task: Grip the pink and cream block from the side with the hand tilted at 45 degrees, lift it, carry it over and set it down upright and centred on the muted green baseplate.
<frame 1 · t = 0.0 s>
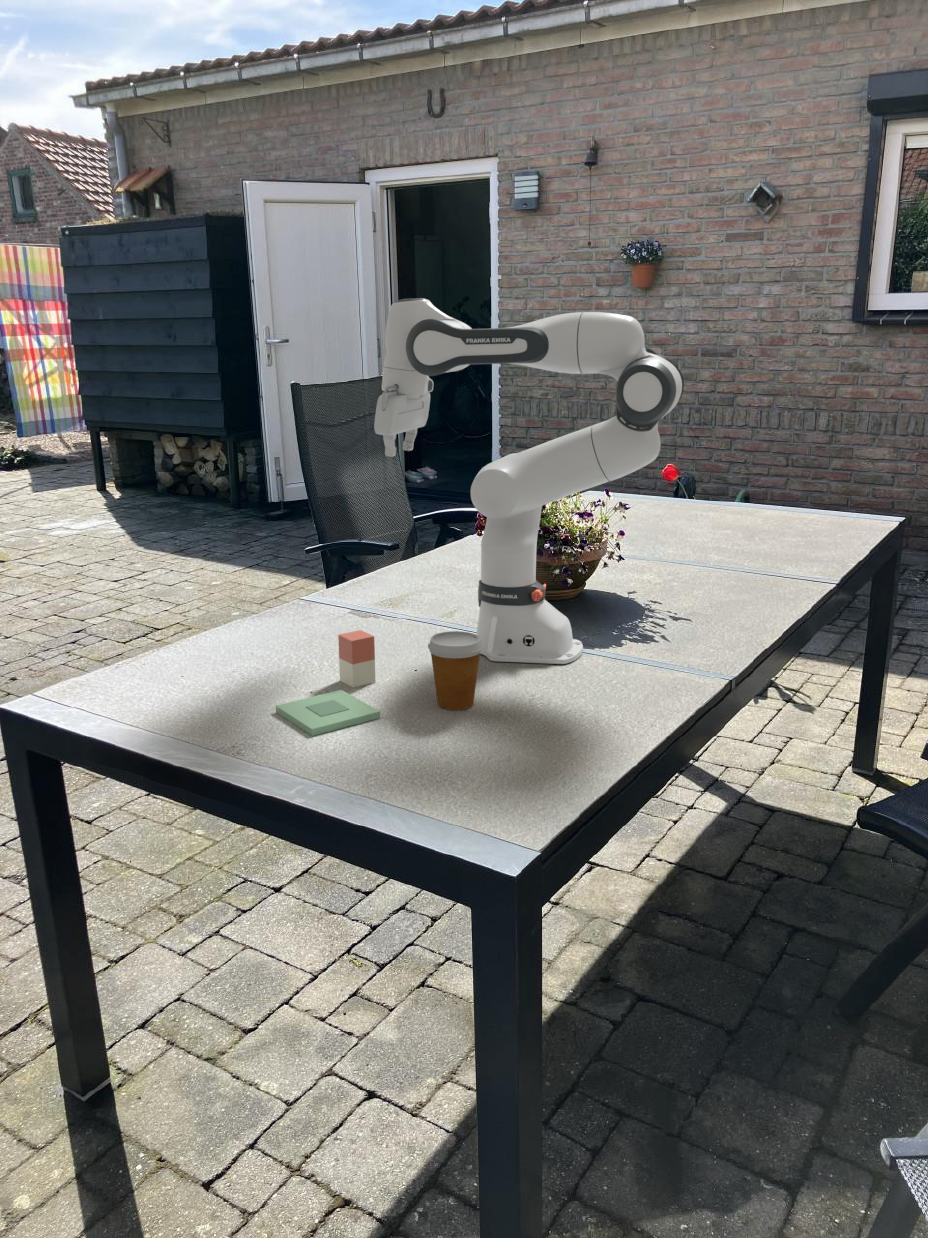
hand: (399, 453, 206), 39 cm above the table, tool pointing down, fingers open, 8 cm apart
pink and cream block: (357, 681, 191), on the table
disposable coffee cup: (455, 704, 180), on the table
baseplate: (327, 715, 175), on the table
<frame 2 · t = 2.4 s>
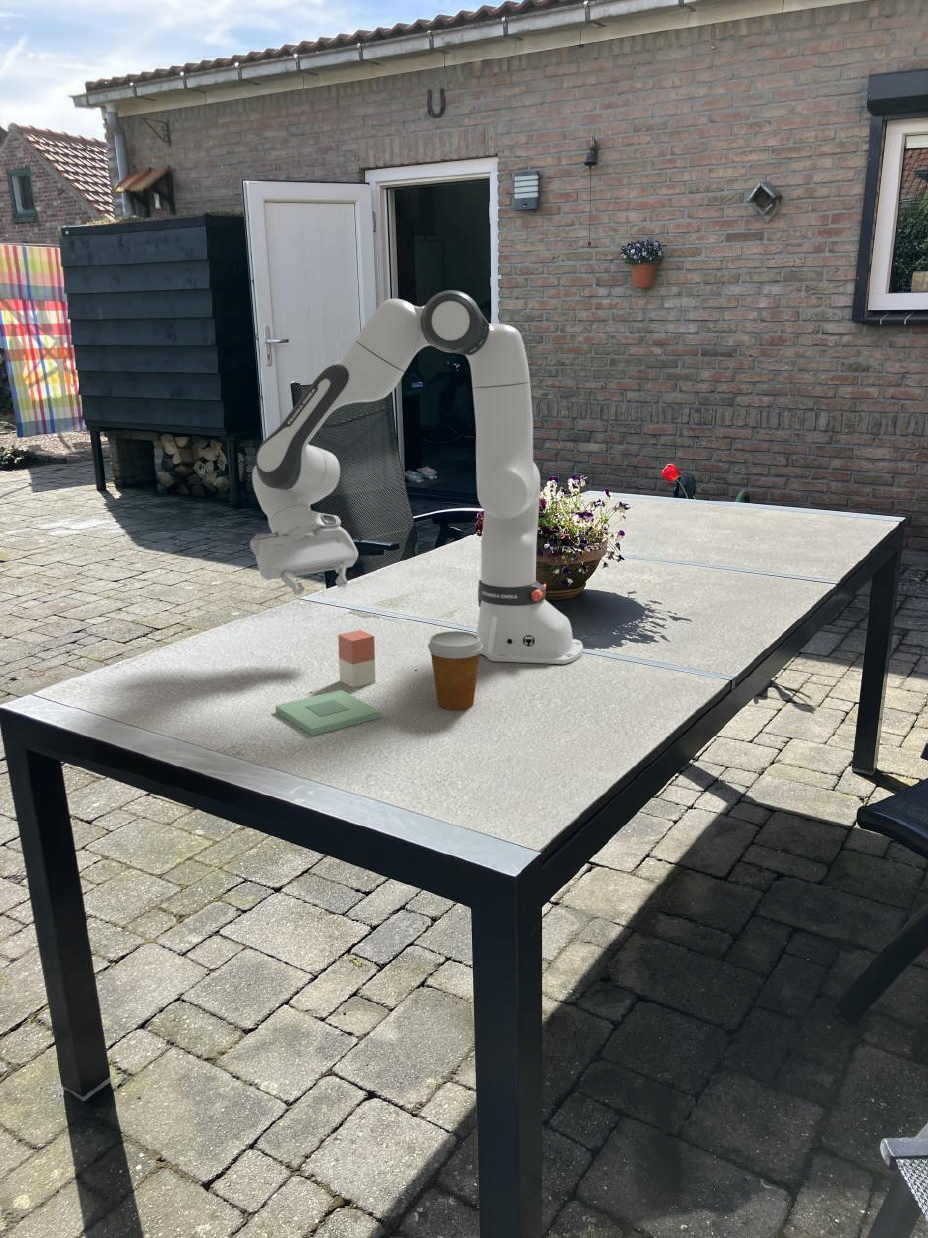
hand: (321, 589, 196), 15 cm above the table, tool tilted 45°, fingers open, 8 cm apart
nothing on the table moved.
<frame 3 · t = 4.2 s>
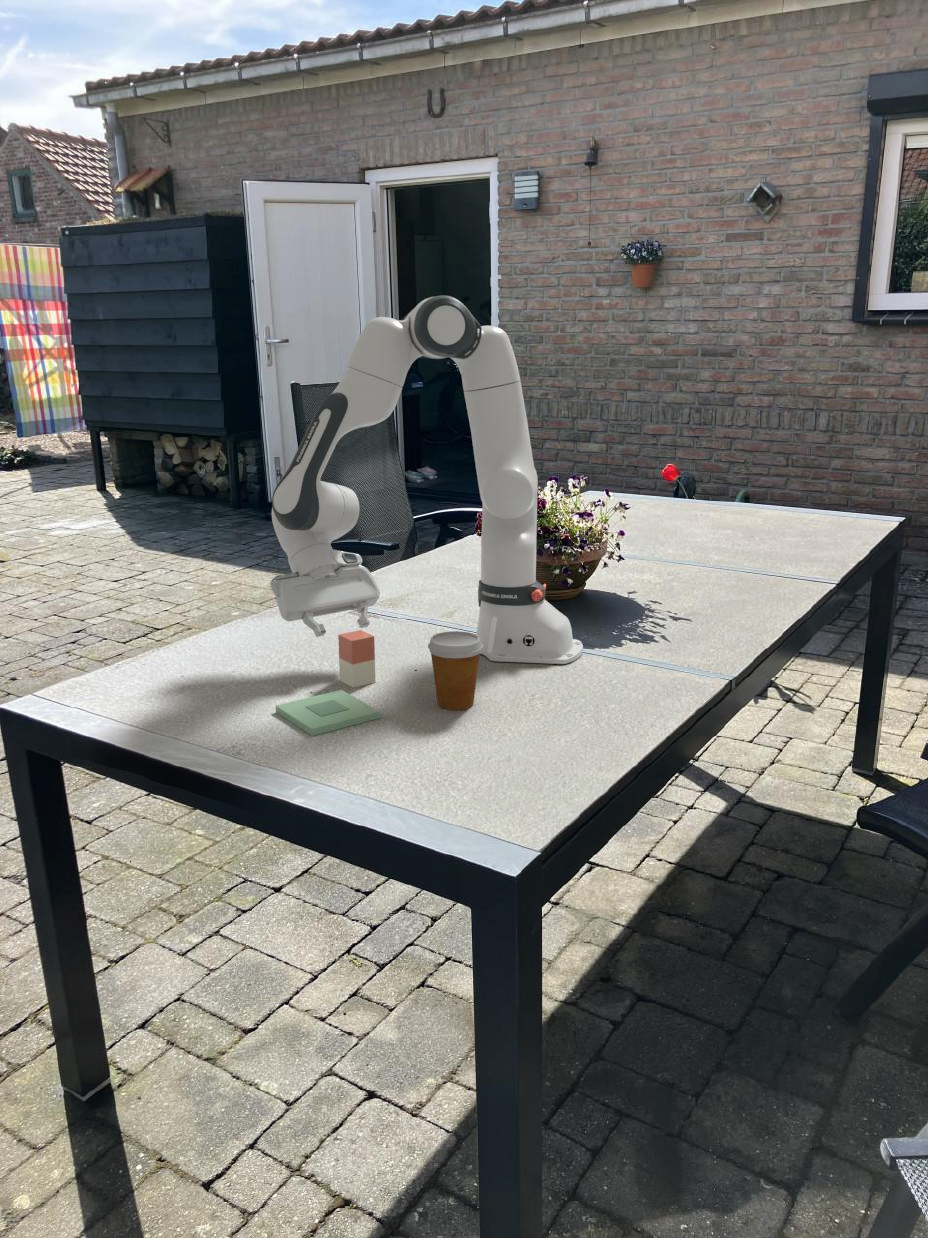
hand: (343, 630, 192), 9 cm above the table, tool tilted 45°, fingers open, 8 cm apart
nothing on the table moved.
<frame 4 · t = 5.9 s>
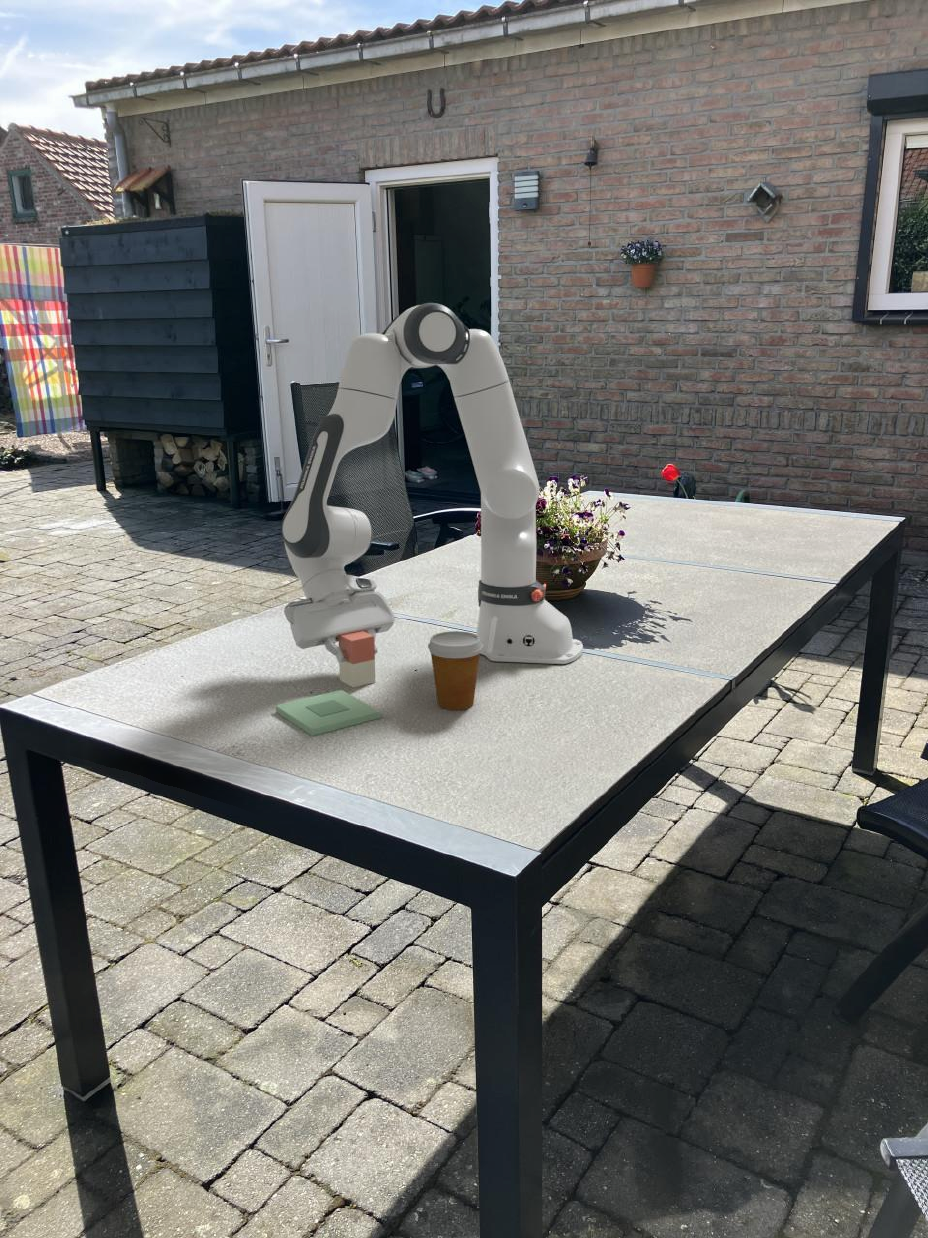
hand: (358, 657, 189), 5 cm above the table, tool tilted 45°, fingers closed on pink and cream block, 5 cm apart
pink and cream block: (357, 681, 191), on the table, touching gripper
everything else where it was.
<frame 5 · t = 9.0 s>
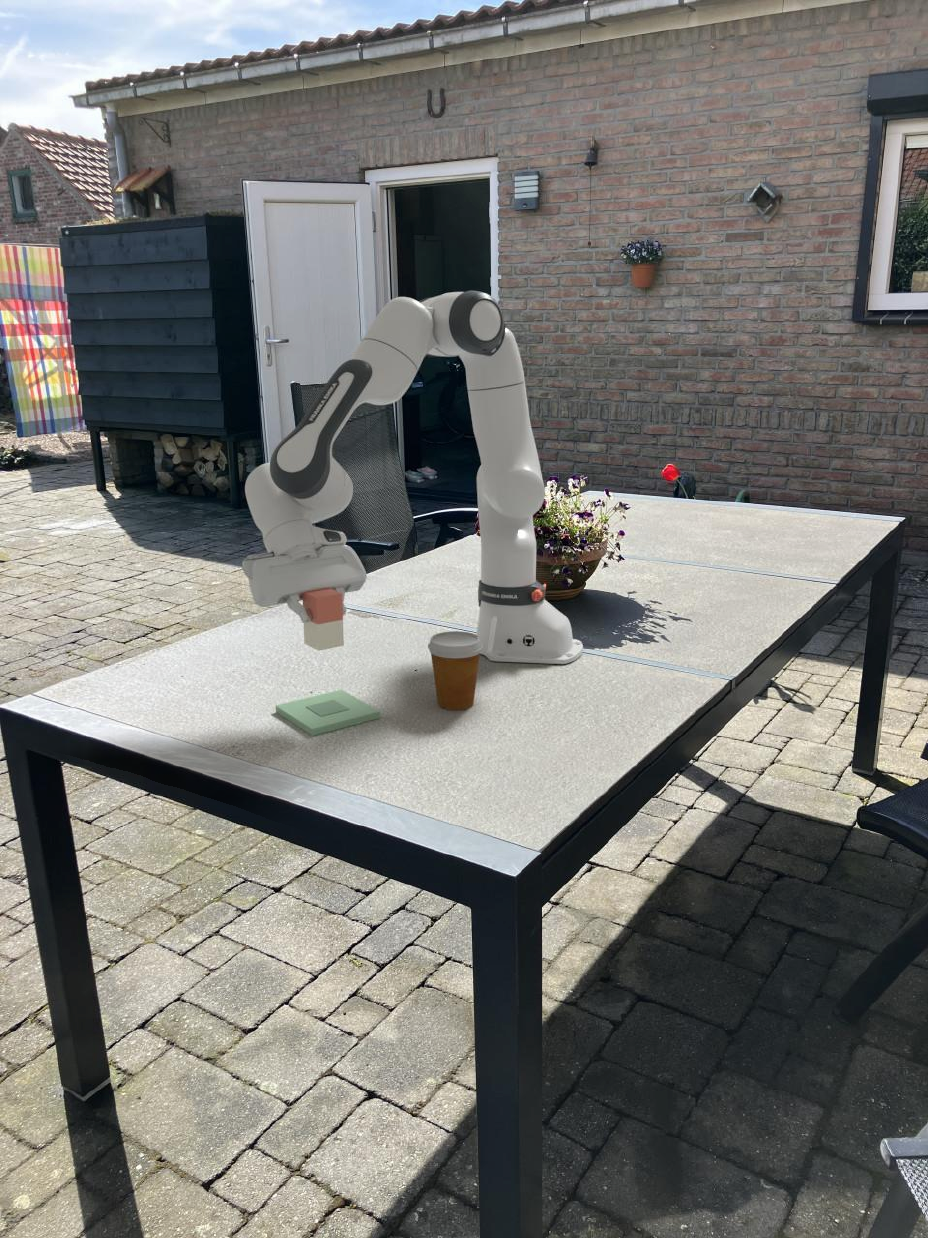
hand: (325, 617, 170), 18 cm above the table, tool tilted 45°, fingers closed on pink and cream block, 5 cm apart
pink and cream block: (324, 644, 172), point 13 cm above the table, touching gripper
everything else where it was.
when the fingers open (7 cm above the table, at t = 12.0 s): pink and cream block stays where it is, resting on baseplate.
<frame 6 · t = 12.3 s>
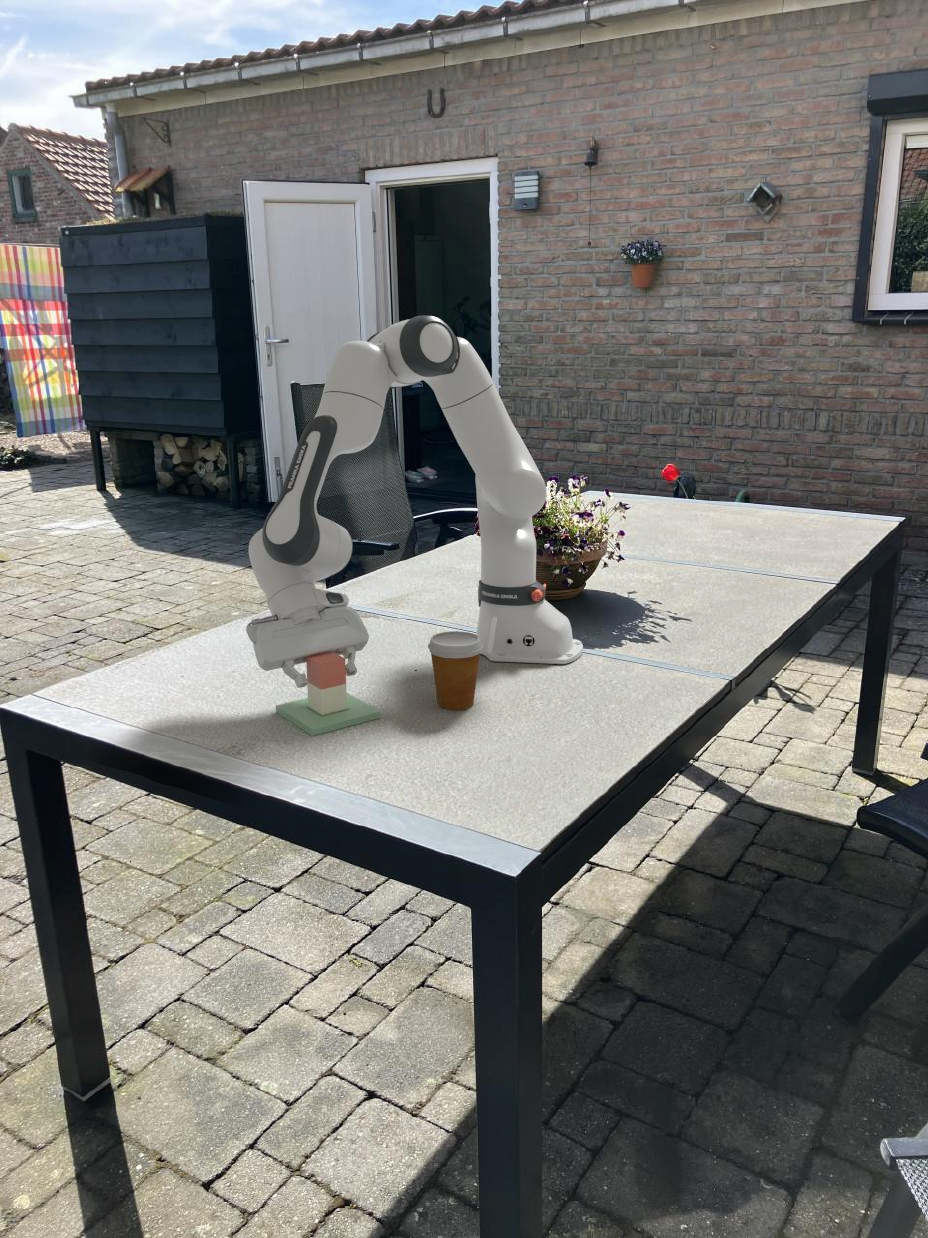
hand: (328, 679, 173), 7 cm above the table, tool tilted 45°, fingers open, 8 cm apart
pink and cream block: (327, 707, 175), point 1 cm above the table, touching baseplate
everything else where it was.
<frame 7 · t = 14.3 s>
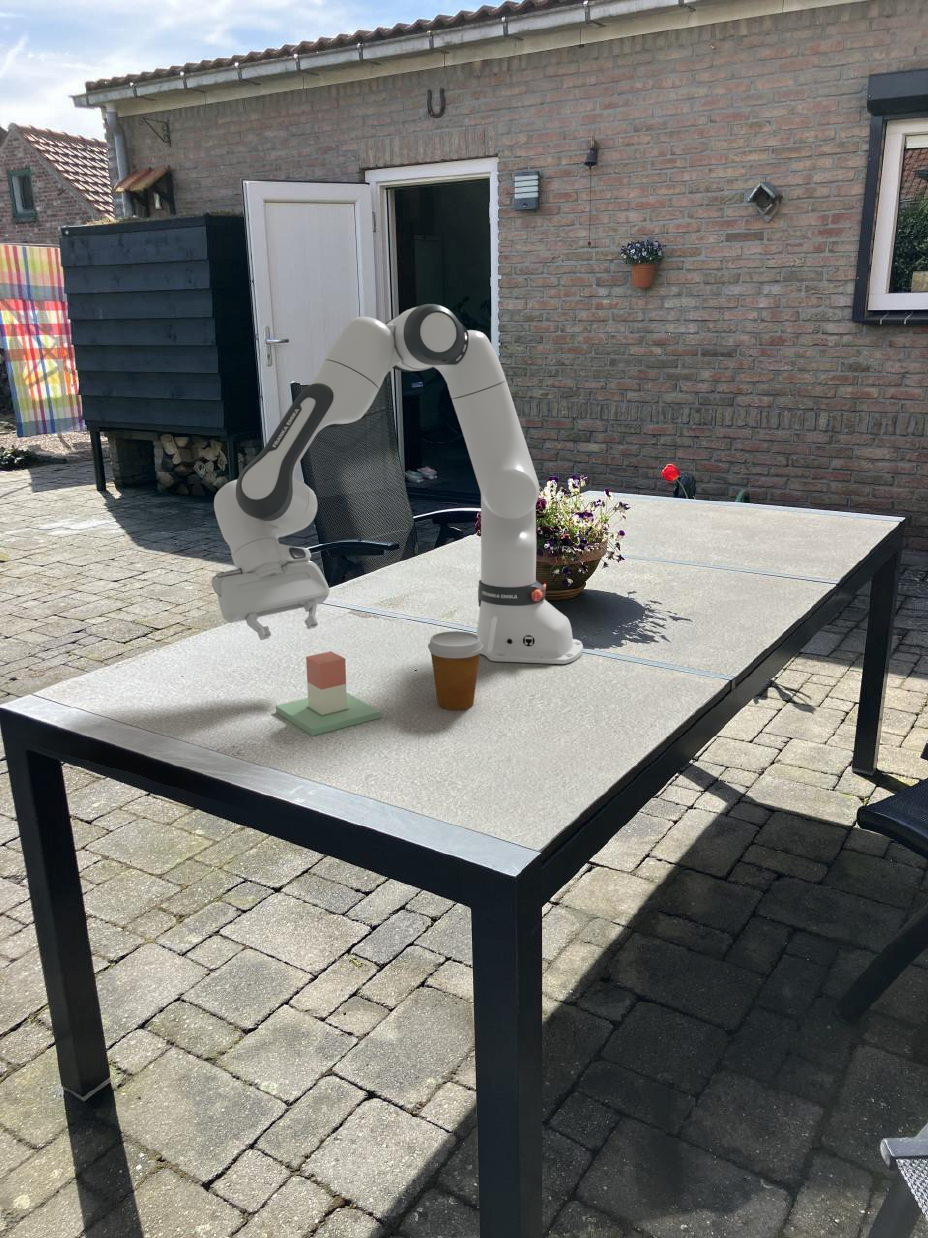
hand: (289, 632, 181), 12 cm above the table, tool tilted 40°, fingers open, 8 cm apart
nothing on the table moved.
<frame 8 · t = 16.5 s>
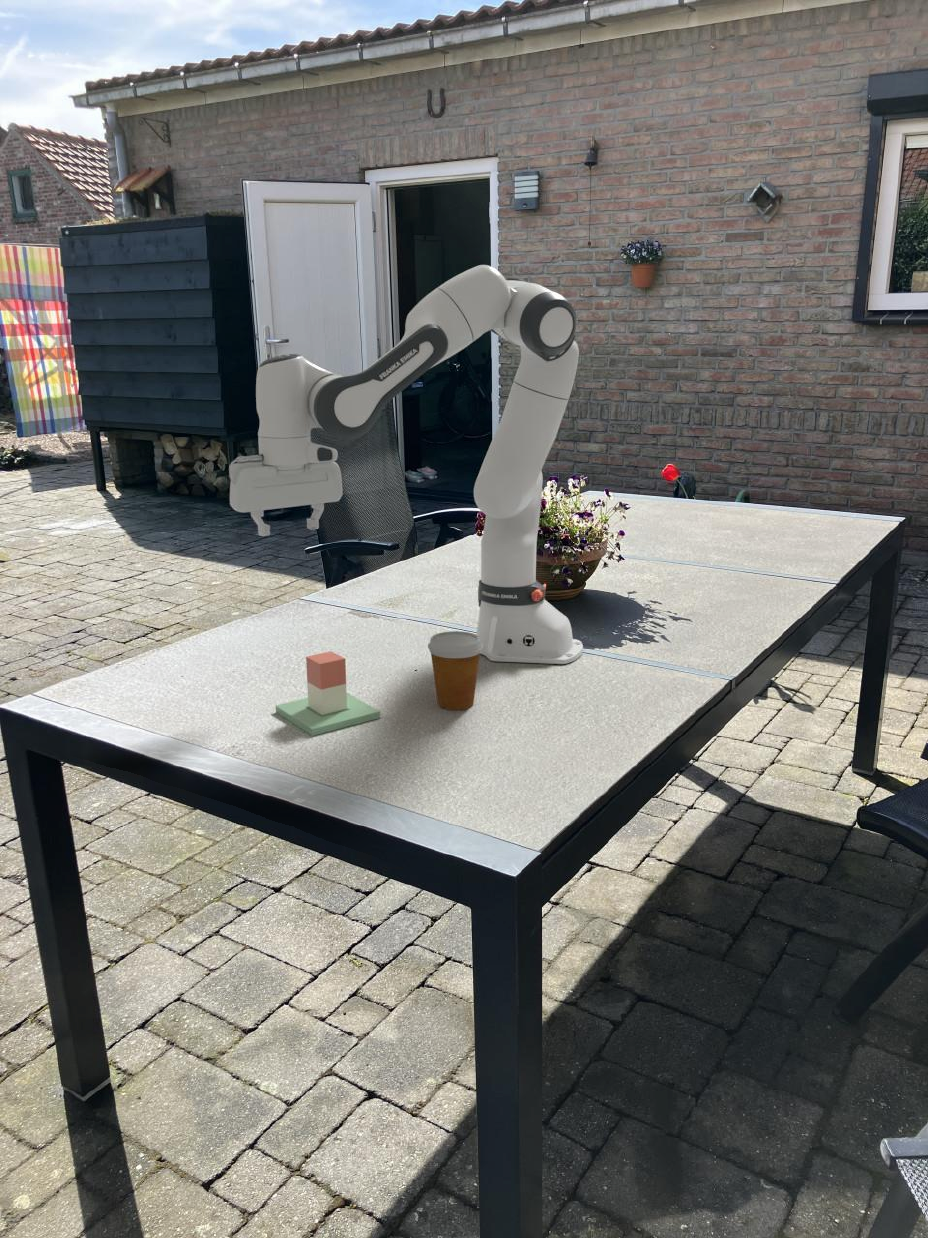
hand: (289, 532, 179), 29 cm above the table, tool pointing down, fingers open, 8 cm apart
nothing on the table moved.
at the end: pink and cream block 0.1 cm off-centre on the baseplate, point 1.3 cm above the baseplate's base; pink and cream block tilted 0°; the gripper is holding nothing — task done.
